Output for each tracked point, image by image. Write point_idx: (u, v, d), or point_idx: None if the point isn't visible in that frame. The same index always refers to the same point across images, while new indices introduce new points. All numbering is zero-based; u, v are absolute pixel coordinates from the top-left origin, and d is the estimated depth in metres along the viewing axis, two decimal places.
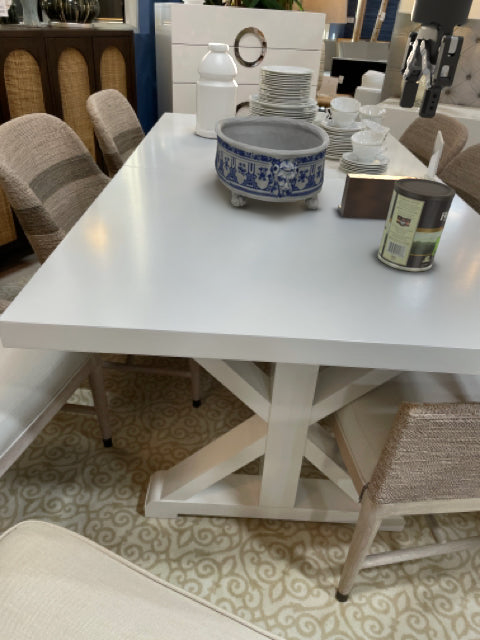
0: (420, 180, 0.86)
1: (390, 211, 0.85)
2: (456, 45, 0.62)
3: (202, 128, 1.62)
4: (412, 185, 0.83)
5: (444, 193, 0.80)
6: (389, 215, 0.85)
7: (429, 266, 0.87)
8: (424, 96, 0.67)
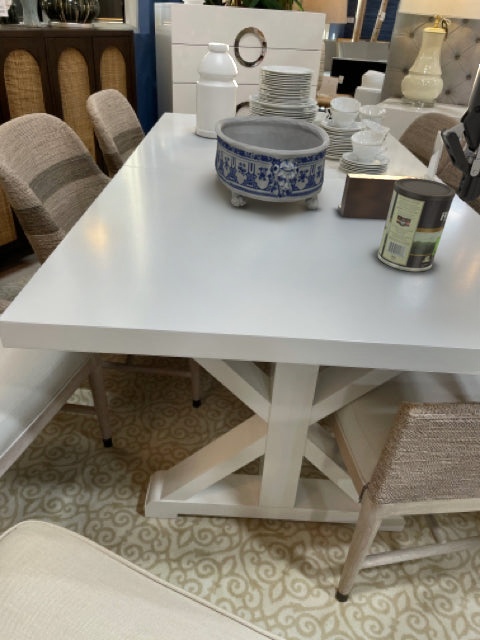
0: (420, 180, 0.86)
1: (390, 211, 0.85)
2: (447, 141, 0.64)
3: (202, 128, 1.62)
4: (412, 185, 0.83)
5: (444, 193, 0.80)
6: (389, 215, 0.85)
7: (429, 266, 0.87)
8: None
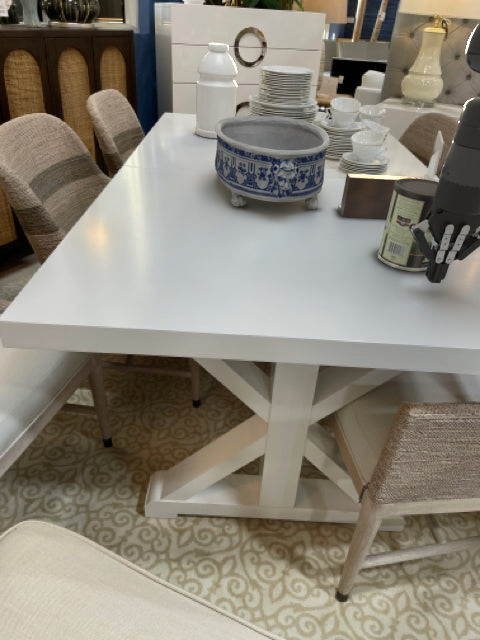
0: (420, 180, 0.86)
1: (390, 211, 0.85)
2: (414, 235, 0.73)
3: (202, 128, 1.62)
4: (412, 185, 0.83)
5: None
6: (389, 215, 0.85)
7: None
8: None
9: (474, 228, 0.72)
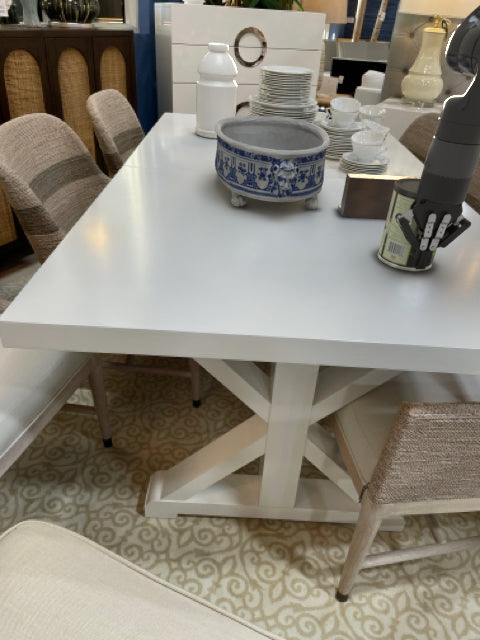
0: None
1: (390, 211, 0.85)
2: (399, 224, 0.79)
3: (202, 128, 1.62)
4: (412, 185, 0.83)
5: None
6: (389, 215, 0.85)
7: (429, 266, 0.87)
8: None
9: (455, 217, 0.78)
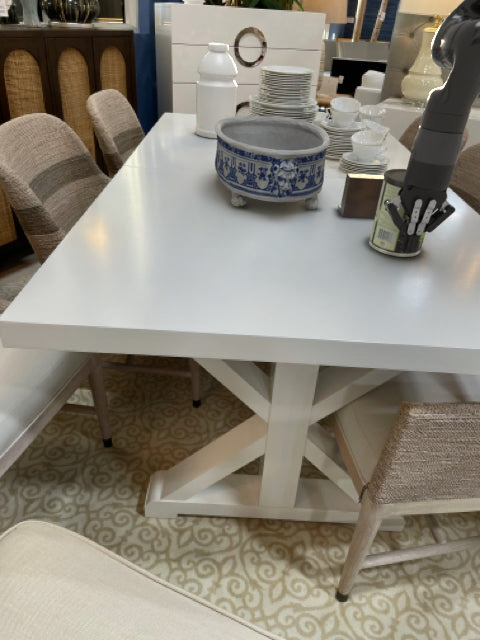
0: None
1: (380, 199, 0.90)
2: (388, 209, 0.84)
3: (202, 128, 1.62)
4: (401, 175, 0.88)
5: None
6: (379, 203, 0.90)
7: (417, 252, 0.91)
8: None
9: (440, 203, 0.83)
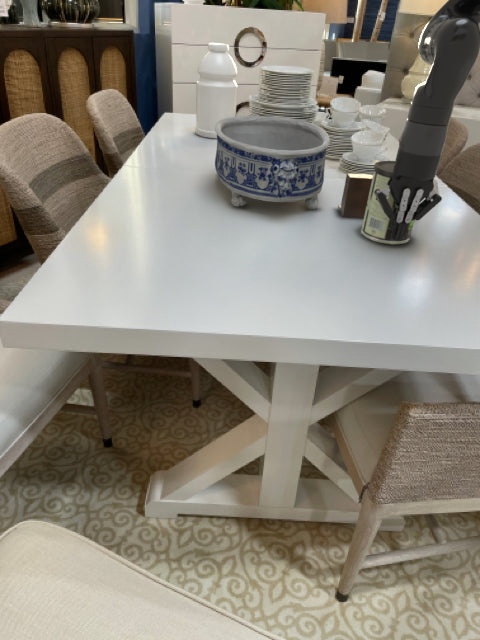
0: None
1: (371, 190, 0.94)
2: (378, 198, 0.88)
3: (202, 128, 1.62)
4: (390, 166, 0.93)
5: None
6: (370, 193, 0.95)
7: (406, 240, 0.96)
8: None
9: (427, 192, 0.88)
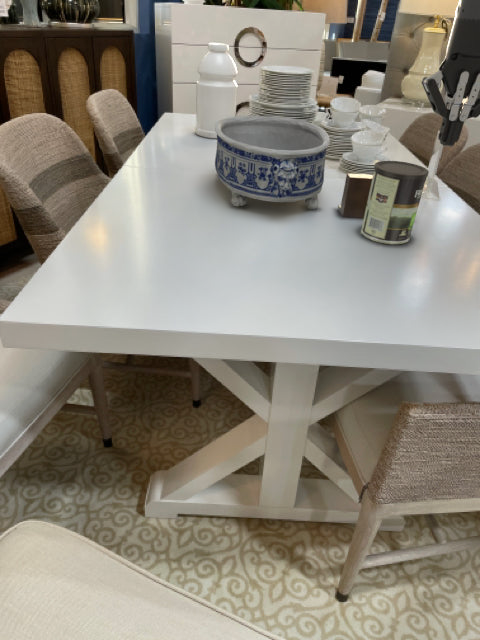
0: (398, 162, 0.96)
1: (371, 190, 0.94)
2: (427, 88, 0.71)
3: (202, 128, 1.62)
4: (390, 166, 0.93)
5: (418, 173, 0.90)
6: (370, 193, 0.95)
7: (406, 240, 0.96)
8: None
9: None
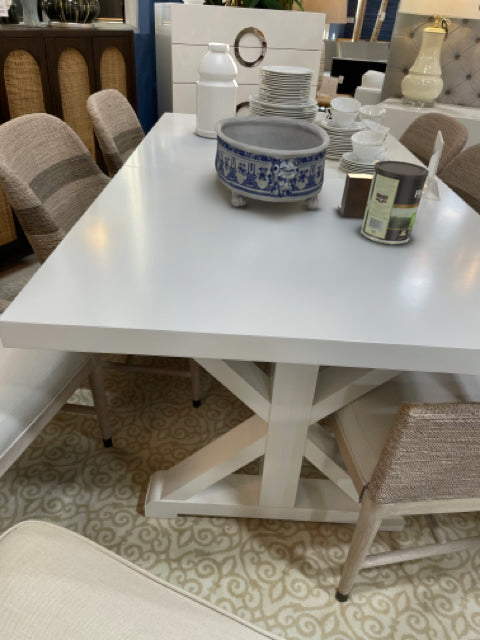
0: (398, 162, 0.96)
1: (371, 190, 0.94)
2: None
3: (202, 128, 1.62)
4: (390, 166, 0.93)
5: (418, 173, 0.90)
6: (370, 193, 0.95)
7: (406, 240, 0.96)
8: None
9: None
